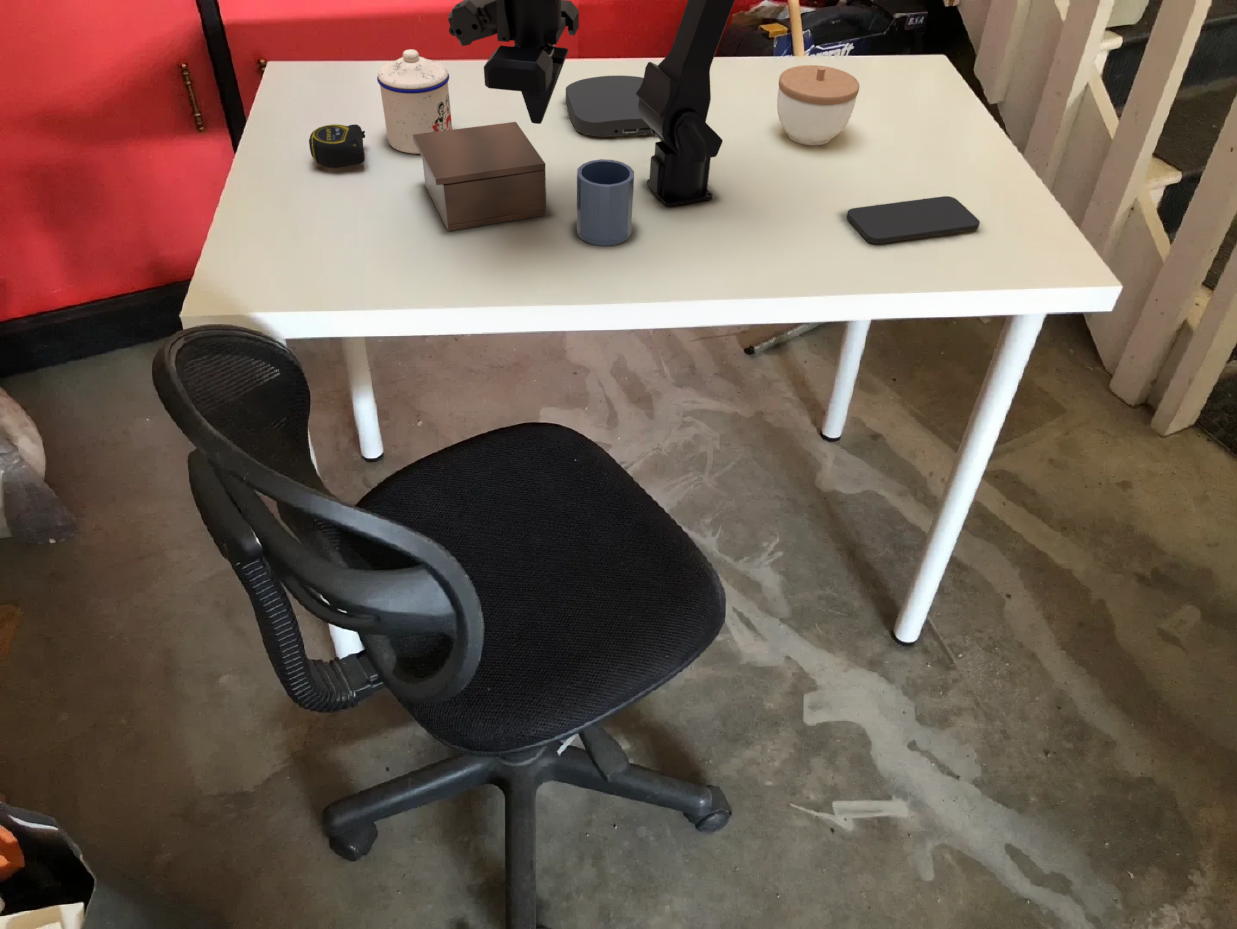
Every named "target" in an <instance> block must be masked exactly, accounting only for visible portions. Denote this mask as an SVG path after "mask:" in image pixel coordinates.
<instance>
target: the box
mask: <svg viewBox="0 0 1237 929" xmlns="http://www.w3.org/2000/svg"><path fill="white" fill-rule="evenodd" d="M421 161H422V167H423V168H422V169H423V177H424V184H425V187H426V189H427V191H428V193H429V196H430V198H431V199H432V201H433V203H434V205H435V208H436V210H437V211H438V214H439V215H440V217H441V219H442V221H443V223H444V225H445V228H446V230H447V232H451V231H453V232H454V231H457V230H458V231H459V230H464V229H470V228H477V227H483V226H487V225H494V224H501V223H505V222H513V221H519V220H525V219H530V218H536V217H542V216H546V215H547V186H546V185H547V184H546V183H547V182H546V181H547V180H546V178H547V177H546V169H545V170H540V171H533V172H526V173H519V174H512V175H505V176H498V177H491V178H484V179H477V180H470V181H463V182H456V183H449V184H442V185H436V184H435V182H434V180H433V178H432V176H431V174H430V172H429V170H428V168H427V166H426V164H425V162H424V160H423V158H422V157H421Z"/></svg>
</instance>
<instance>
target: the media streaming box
mask: <svg viewBox="0 0 1237 929" xmlns="http://www.w3.org/2000/svg"><path fill="white" fill-rule="evenodd" d="M643 78H644V77H642V76H635V75H601V76H594V77H586V78H583V79H578V80H576V81H574V82H572V83H570V84H568V85H567V86H566V87H565V105H566V110H567V113H568V116H569V118H570V120H571V123H572V125H573V127H574V129H575V130H576V131H577V132H579V133H581V134H584V135H586V136H590V137H591V136H592V137H623V136H624V137H625V136H626V137H627V136H640V135H642V136H643V135H654V134H653V133H652V132H651V129H650V126H649V125H648V124H647V123H646V122H645V121H644V120H643V119H642V117H641V115H640V112H639V111H638V103H639V97H638V96H637V95H636V92H637V91H638V89H639V88H640V86H641V84H642V82H643Z"/></svg>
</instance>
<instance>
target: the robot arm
mask: <svg viewBox="0 0 1237 929" xmlns="http://www.w3.org/2000/svg"><path fill="white" fill-rule="evenodd" d="M735 1H736V0H687V3H686V5H685V8H684V11H683V14H682V17H681V20H680V23H679V26H678V29H677V31H676V35H675V37H674V41H673V43H672V47H671V49H670V51H669V52H668V54H667V55H666V56H665V57H664V58H663V59H662V60H661V61H660V62H659V63H658V64H656V63H654V62H652V61H648V62H647V63H646V66H645V67H644V68H645V69H644V72H643V77H642V78H643V82H642V84H641V86H640V88H639V89H638V91H637V92H636V95H637V96H638V97H639V103H638V111H639V112H640V115H641V117H642V119H643V120H644V121H645V122H646V123H647V124H648V125H649V126H650V129H651V132H652V133H653V134H652V135H653V136H655V137H657V139H658V140H659V141H656V142H655V143H654V155H651V157H650V164H649V165H650V166H649V168H650V169H649V178H648V179H647V180H646V183H647V185H648V187H649V188H650V189H651V190H652V192H653V193H654V194H655V195H656V197H657V198H658V199H659V200H660V202H662V204H663V205H664V206H666V207H674V206H680V205H686V204H691V203H697V202H702V201H710V200H712V199H714V194H713V193H712V191H711V190H710V189H709V188H708V186H709V179H710V178H709V177H710V169H711V159H712V158H715V157H717V156H718V155H719V151H720V149H721V147H722V144H723V142H724V141H723V139H722V137H720V135H719V134H718V133H717V132H715V131H714V129H713V128H712V127H711V126H710V125H709V124H708V123H707V118H708V114H709V110H710V106H711V100H712V94H711V92H712V91H711V67H712V64H713V62H714V58H715V55H716V53H717V50H718V48H719V45H720V42H721V39H722V37H723V33H724V31H725V28H726V26H727V23H728V20H729V18H730V15H731V12H732V10H733V7H734V4H735ZM447 20H448V23H449V28H448V33H449V34H450V36H452V37H455V38H456V39H457V40H458V42H459V45H460V46H461V47H466V46H470V45H471V44H472V43H473V42H476V41H479V40H482V39H486V38H488V37H493V36H494V35H496V39H497V42H504V43H509V42H511V41H513V46H510V45H499V46H498V47H497V48H496V49H495V50H494V51H493V52H492V54H491V55H490V57H489V58H488V59H487V61H486V63H485V64H484V66H483V76H484V77H483V78H484V86H485V87H486V88H488V89H492V90H501V91H513V92H520V93H521V96H522V98H523V100H524V101H523V102H524V104H525V108H526V111H527V113H528V116H529V119H530V122H531V123H532V124H537V125H541V124H542V122H543V120H544V117H545V115H546V113H547V110H548V107H549V105H550V101H551V99H552V96H553V94H554V91H555V89H556V85H557V83H558V80H559V77H560V75H561V72H562V70H563V66H564V64H565V61H566V59H567V56H568V54H569V49H568V48H567V47H562V46H561V47H559V46H556V45H557V44H558V42H559V40H560V39H561V37H562V35H563V33H564V31H565V30H566V27H567V32H568V35H569V36H573V37H575V36H576V34H577V32H578V30H579V28H580V9H579V8H577V6H576V5H575V4H574V3H573V2H572V1H571V0H461V1H459V2H458V3H456V4H454V6H453V8H452V9H451V11H450V12H449V13H448V18H447Z"/></svg>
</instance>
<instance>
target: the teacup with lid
mask: <svg viewBox="0 0 1237 929" xmlns="http://www.w3.org/2000/svg"><path fill="white" fill-rule="evenodd" d="M376 80H377V83H378V85H379V87H380V95H381V104H382V108H383V115H384V123H385V130H386V137H387V142H388V144H389V145H390V146H391V147H392V148H394V149H395V150H397V151H399V152H402V153H406V154H412V155H413V154H414V155H415V154H416V155H421V154H420V152H419V151H418V149H417V147H416V145H415V143H414V141H413V135H414V134H422V133H430V132H438V131H446V130H453V123H452V111H451V99H450V91H449V80H450V74H449V72H448V69H447V68H446V66H444V65H443V64H442V63H440V62H438V61H435V60H432V59H428V58H426V57H423V56H420V53H419V51H418V50H416V49H412V48H411V49H406V50H404V51H403V52H402V57H399V58H398V59H396V60H393V61H390V62H388V63H386V64H384V65H383V66H381V67H380V69H379V70H378V72H377V76H376Z"/></svg>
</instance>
